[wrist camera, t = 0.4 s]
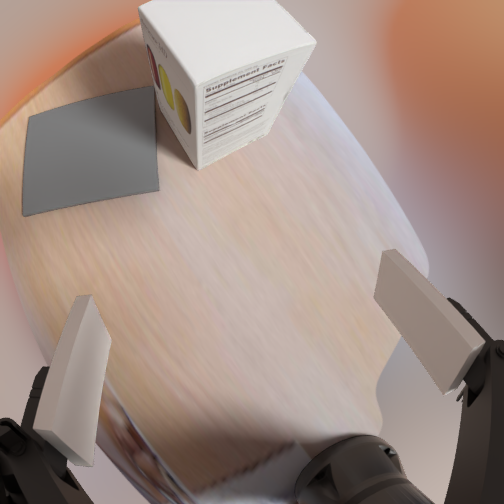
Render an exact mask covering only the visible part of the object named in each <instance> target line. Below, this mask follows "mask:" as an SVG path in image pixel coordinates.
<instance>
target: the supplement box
mask: <svg viewBox="0 0 504 504" xmlns="http://www.w3.org/2000/svg"><path fill="white" fill-rule="evenodd" d="M138 12H139V17H140V22H141V27H142V32H143V37H144V42H145V46H146V51H147V56H148V60H149V65H150V69H151V74H152V78H153V83H154V87H155V91H156V95H157V100H158V104H159V108H160V110H161V112H162V113H163V115H164V117H165V118H166V120H167V122H168V124H169V125H170V127H171V129H172V130H173V132H174V134H175V135H176V137H177V139H178V140H179V142H180V144H181V145H182V147H183V148H184V150H185V152H186V153H187V155H188V157H189V158H190V160H191V162H192V163H193V165H194V166H195V168H196V169H197V170H201V169H203V168H205V167H207V166H209V165H210V164H212V163H214V162H216V161H218V160H219V159H221V158H223V157H225V156H227V155H229V154H231V153H232V152H234V151H236V150H238V149H240V148H242V147H244V146H246V145H248V144H250V143H252V142H254V141H256V140H258V139H260V138H262V137H264V136H266V135H267V134H268V133H269V131H270V129H271V127H272V125H273V123H274V121H275V119H276V117H277V115H278V113H279V112H280V110H281V108H282V106H283V104H284V102H285V100H286V98H287V97H288V95H289V93H290V91H291V89H292V88H293V86H294V84H295V82H296V80H297V78H298V76H299V74H300V73H301V71H302V69H303V67H304V65H305V63H306V61H307V60H308V58H309V56H310V55H311V53H312V51H313V49H314V47H315V46H316V43H317V42H316V40H315V39H314V38H313V37H312V36H311V35H310V34H309V33H308V32H307V31H306V30H305V29H304V28H303V27H302V26H301V25H300V24H299V23H298V22H297V21H296V20H295V19H294V18H293V17H292V16H291V15H290V14H289V13H288V12H287V11H286V10H285V9H284V8H283V7H282V6H281V5H280V4H279V3H278V2H277V1H276V0H153V1H150V2H148V3H145V4H143V5H141V6H139V7H138Z"/></svg>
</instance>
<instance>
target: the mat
mask: <svg viewBox="0 0 504 504" xmlns="http://www.w3.org/2000/svg"><path fill="white" fill-rule="evenodd" d="M156 191H159V179H158V165H157V148H156V127H155V88H154V86H149V87H143V88H137V89H132V90H126V91H121V92H117V93H112V94H107V95H103V96H99V97H95V98H91V99H87V100H83V101H79V102H75V103H72V104H68V105H65V106H61V107H58V108H55V109H52V110H49V111H45V112H42V113H39V114H37V115H34V116H31V117H29V123H28V131H27V139H26V149H25V160H24V175H23V216H24V217H26V216H31V215H35V214H39V213H43V212H48V211H52V210H57V209H62V208H66V207H71V206H76V205H81V204H86V203H91V202H97V201H102V200H107V199H113V198H119V197H125V196H130V195H137V194H143V193H149V192H156Z"/></svg>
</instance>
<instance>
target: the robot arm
mask: <svg viewBox="0 0 504 504" xmlns="http://www.w3.org/2000/svg"><path fill="white" fill-rule="evenodd" d="M374 299H375V301H376V302H377V303H378V304H379V306H380V307H381V308H382V310H383V311H384V312H385V314H386V315H387V316H388V318H389V319H390V320H391V322H392V323H393V324H394V326H395V327H396V328H397V330H398V331H399V332H400V334H401V335H402V337H403V338H404V339H405V341H406V342H407V343H408V345H409V346H410V348H411V349H412V350H413V352H414V353H415V355H416V356H417V357H418V359H419V360H420V362H421V363H422V365H423V366H424V367H425V369H426V370H427V372H428V373H429V375H430V376H431V377H432V379H433V380H434V382H435V383H436V385H437V386H438V388H439V389H440V391H441V392H442V394H443V395H446V394H448V393H450V392H452V391H454V390H456V389H457V388H458V386H459V385H460V383H461V382H462V380H464V381H465V383H466V386H465V387H464V388H463V390H462V391H461V393H460V394H459V395H458V397H457V400H456V401H459V400H460V398H461V397H462V396H463V400H462V402H463V404H462V414H461V422H460V430H459V437H458V443H457V449H456V454H455V460H454V466H453V470H452V474H451V479H450V483H449V487H448V491H447V494H446V498H445V502H444V504H504V341H503V340H496V341H494V340H493V339H491V337H490V336H489V335H488V334H487V333H486V332H485V331H484V329H483V328H482V327H481V326H480V325H479V324H478V323H477V322H476V321H475V320H474V319H472V316H471V315H470V314H469V313H467V312H466V310H465V309H464V308H463V307H462V306H461V305H460V304H459V303H458V302H456V301H454V300H453V299H451V298H447V299H446V298H445V297H444V296H443V295H442V294H441V293H440V292H439V291H438V290H437V289H436V288H435V287H434V286H433V285H432V284H431V283H430V282H429V281H428V280H427V279H426V278H425V277H424V276H423V275H422V274H421V273H420V272H419V271H418V270H417V269H416V268H415V267H414V266H413V265H412V264H411V263H410V262H409V261H408V260H407V259H406V258H404V257H403V256H402V255H401V254H400V253H399V252H398V251H397V250H396V249H392V250H387V251H382V257H381V262H380V268H379V273H378V278H377V283H376V288H375V293H374ZM111 341H112V340H111V338H110V336H109V333H108V331H107V329H106V327H105V325H104V323H103V320H102V318H101V316H100V314H99V311H98V309H97V307H96V304H95V302H94V299H93V297H92V295H84V296H77V297H76V299H75V301H74V304H73V306H72V309H71V311H70V313H69V316H68V318H67V321H66V323H65V326H64V329H63V331H62V334H61V337H60V339H59V342H58V345H57V348H56V350H55V353H54V356H53V359H52V362H51V365H50V367H42V368H41V370H40V371H39V372H38V374H37V375H36V376H35V380H34V382H33V386H32V390H31V392H30V395H29V397H30V398H29V399H28V402H27V405H26V409H25V412H24V416H23V419H22V423H21V427H20V426H19V425H18V424H17V423H16V422H15V421H14V420H12V419H10V418H2V419H0V504H94V503H93V502H92V501H91V499H90V498H89V496H88V495H87V494H86V492H85V491H84V489H83V488H82V487H81V485H80V484H79V483H78V481H77V479H76V478H75V477H74V475H73V474H72V472H71V470H69V468H68V467H67V459H68V460H69V461H70V462H72V463H73V464H74V465H77V466H86V467H93V462H94V451H95V441H96V432H97V423H98V416H99V408H100V402H101V395H102V389H103V383H104V377H105V371H106V366H107V361H108V356H109V351H110V346H111ZM295 496H296V499H297V501H298V504H435V503H434V502H433V501H431V500H430V499H429V498H428V497H427V496H426V495H425V494H423V493H422V492H421V491H420V490H419V489H418V488H417V487H416V486H414V485H413V484H412V483H411V482H410V481H409V480H408V479H407V476H406V474H405V471H404V469H403V466H402V464H401V461H400V458H399V456H398V454H397V452H396V451H395V449H394V448H393V447H392V446H391V445H389V444H388V443H387V442H386V441H385V440H383V439H381V438H379V437H375V436H358V437H354V438H350V439H347V440H344V441H341V442H339V443H337V444H335V445H333V446H331V447H329V448H328V449H326V450H325V451H323V452H322V453H320V454H319V455H318V456H316V457H315V458H314V459H313V460H312V461H311V462H310V463H309V464H308V465H307V466H306V467H305V468H304V470H303V471H302V473H301V474H300V476H299V478H298V480H297V482H296V486H295Z"/></svg>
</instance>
